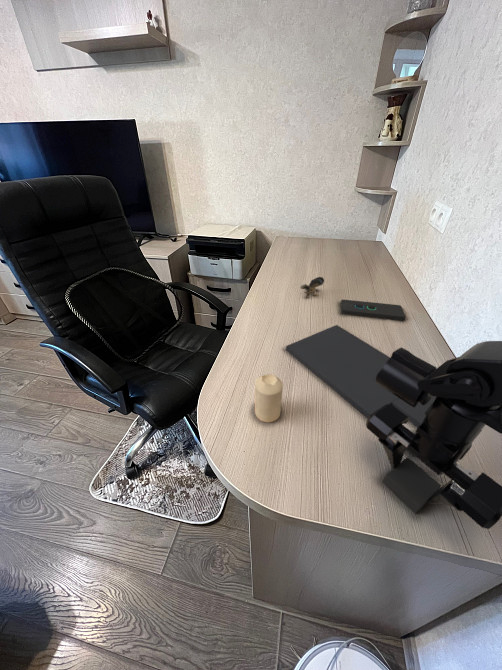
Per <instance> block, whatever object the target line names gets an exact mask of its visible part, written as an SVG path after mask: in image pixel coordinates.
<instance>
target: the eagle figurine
mask: <svg viewBox="0 0 502 670" xmlns="http://www.w3.org/2000/svg"><path fill="white" fill-rule="evenodd" d="M324 283H325V279H324V277H323V276H318V277H316V278H313V279H311V281H310V282H309V284H306V283H304V284H301V285H300V286H299V288H300V289H301V290H305V291H303V293H304V294H306V297H305V298H306V299H307V298H308V297H310V295H311V294H313V295H315V296H317V291H318V289H316V288H318V287H319V286H320V287H321V286H322V285H324Z"/></svg>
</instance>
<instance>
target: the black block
mask: <svg viewBox="0 0 502 670" xmlns="http://www.w3.org/2000/svg"><path fill="white" fill-rule="evenodd" d="M382 483H383V484H384V485H385V487H387V488H388V489H389V491H391V492H392V493H393V494H394V495H395V496H396V497H397V499H399V500H400V501H401V502H402V503H403V504H404V505H405V506H406V507H407V508H408V509H409V510H410V511H411V512H412V513H413V514H414V515H416V514H417V513H418V512H419V511H421V509H422V508H423V507H424V506H425V505H426V504H427V503H428V502H427V501H428V499H429V498H430V497H431V496H432V495H433V494H434V493H435V492H436V491H437V490H438V489H440V488H441V487H442V485H441V484H440V483H439V482H438V481H437V480H436V479H435V478H433V477H432V476H431V475H429V474H428V473H427V472H426V470H424V469H423V468H421V467H420V466H419V465H418V464H416V463H415V462H414V461H413V460H412V459H411V458H410V457H408V456H407V457H405V459H402V460H401V463H400V464H399V465H398V466H397V467H395V468H394V469H393V470H392V469H391V470H390V471H389V472H388V473H386V475H385V477H384V479H383V481H382Z"/></svg>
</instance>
